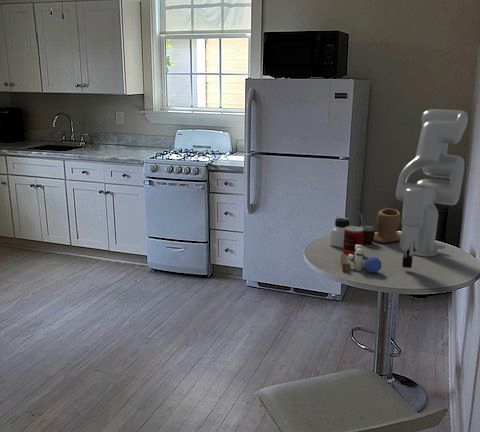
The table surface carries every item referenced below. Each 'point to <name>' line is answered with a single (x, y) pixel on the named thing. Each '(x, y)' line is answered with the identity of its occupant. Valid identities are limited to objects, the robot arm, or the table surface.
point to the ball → (373, 264)
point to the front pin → (353, 258)
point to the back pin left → (358, 259)
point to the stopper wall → (344, 262)
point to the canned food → (352, 239)
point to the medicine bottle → (338, 232)
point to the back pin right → (357, 248)
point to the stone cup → (387, 225)
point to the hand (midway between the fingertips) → (406, 266)
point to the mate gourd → (367, 233)
